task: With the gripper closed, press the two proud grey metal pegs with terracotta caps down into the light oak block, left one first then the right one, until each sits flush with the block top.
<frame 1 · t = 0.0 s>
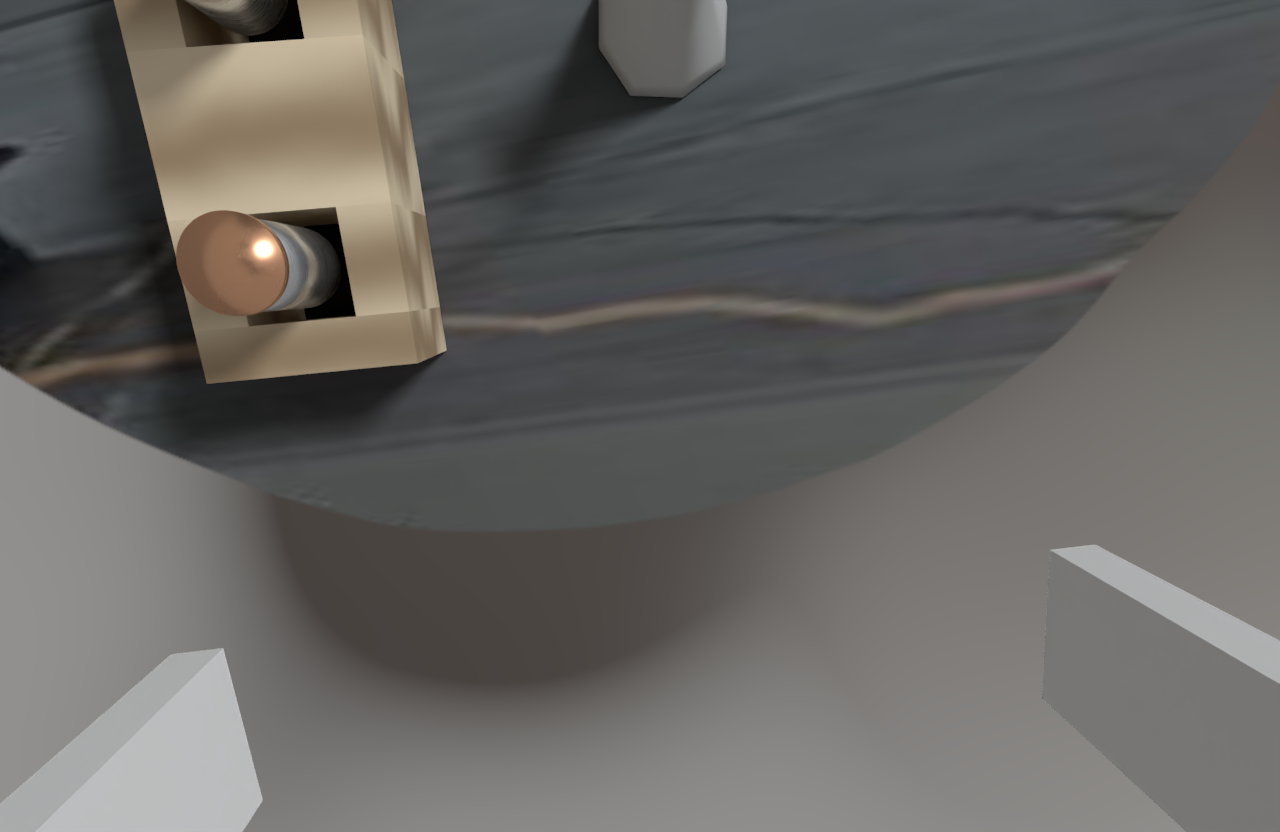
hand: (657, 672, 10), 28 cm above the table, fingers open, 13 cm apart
oak block: (321, 156, 34), on the table
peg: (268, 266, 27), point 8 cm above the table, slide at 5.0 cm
flask: (662, 30, 34), on the table
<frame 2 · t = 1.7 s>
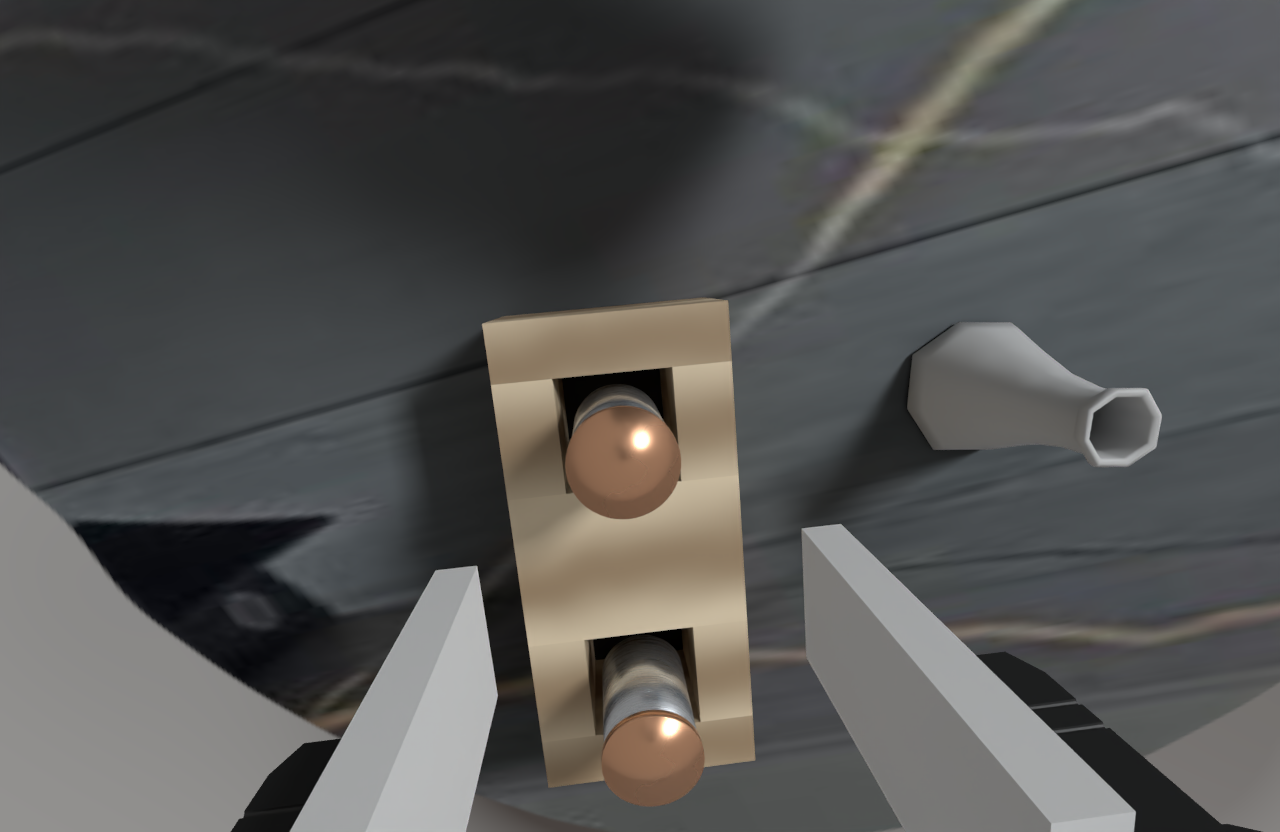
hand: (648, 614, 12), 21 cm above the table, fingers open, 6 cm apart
oak block: (625, 513, 33), on the table
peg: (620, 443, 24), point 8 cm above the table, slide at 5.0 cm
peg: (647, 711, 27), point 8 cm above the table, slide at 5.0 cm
flask: (966, 385, 34), on the table
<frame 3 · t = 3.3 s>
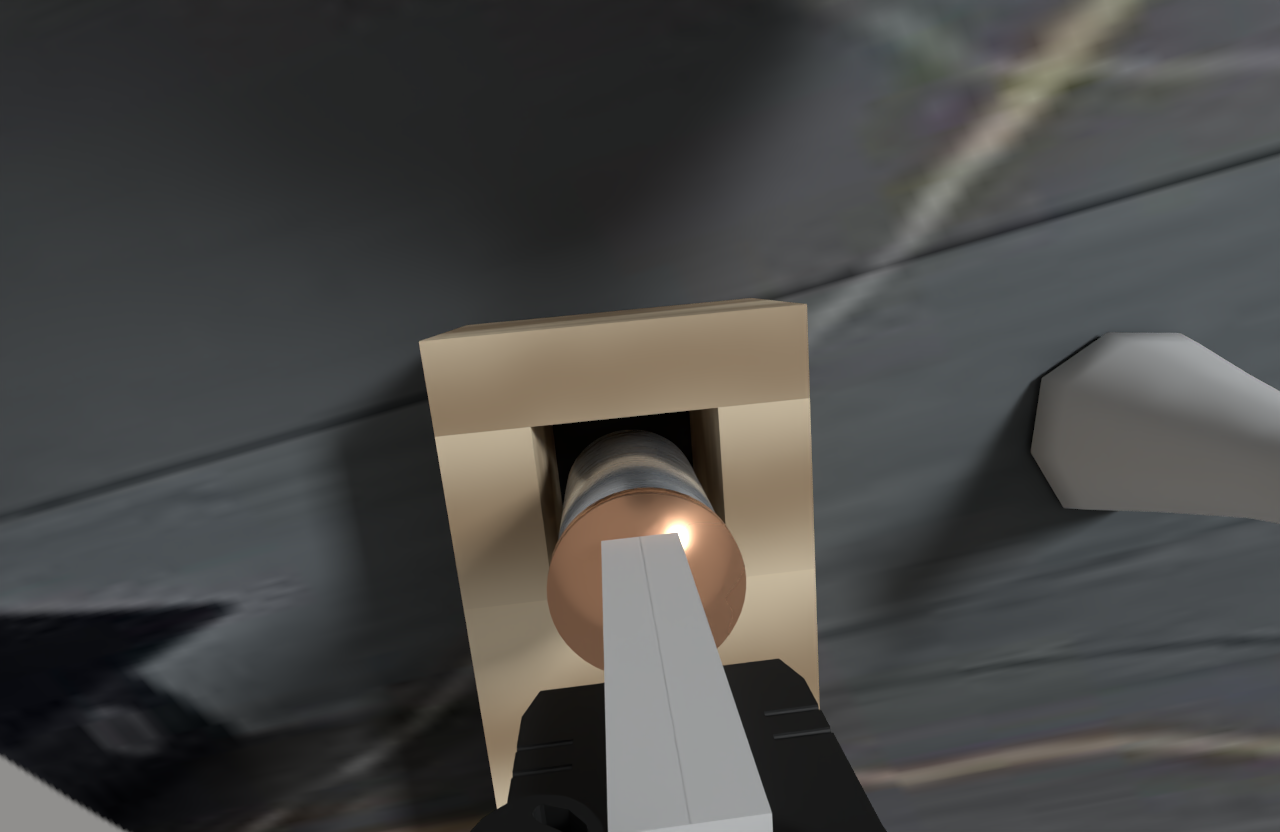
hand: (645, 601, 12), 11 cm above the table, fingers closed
oak block: (638, 596, 24), on the table
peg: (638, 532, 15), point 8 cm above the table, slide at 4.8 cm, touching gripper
flask: (1110, 420, 24), on the table
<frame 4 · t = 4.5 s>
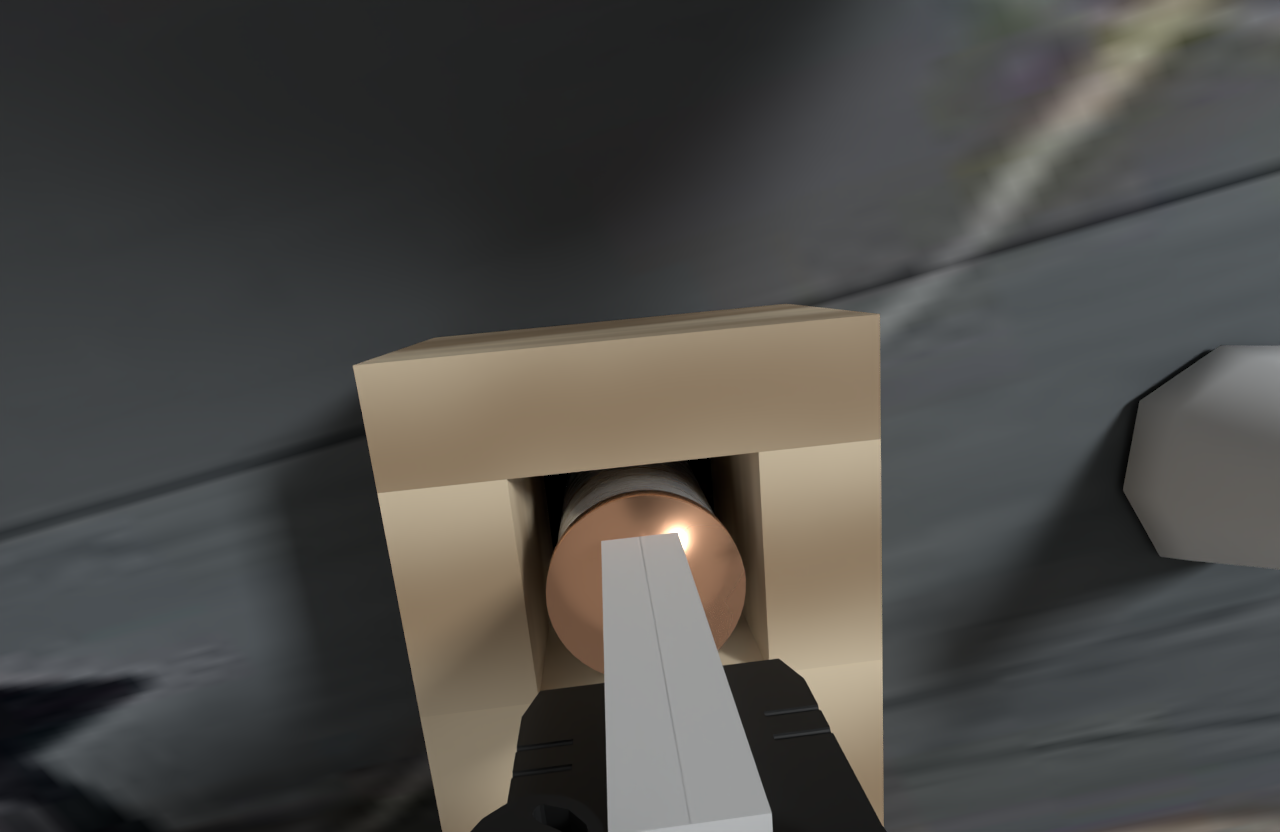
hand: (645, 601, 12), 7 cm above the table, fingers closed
oak block: (647, 664, 20), on the table
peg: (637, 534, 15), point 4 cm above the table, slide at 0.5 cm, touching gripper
flask: (1216, 450, 20), on the table
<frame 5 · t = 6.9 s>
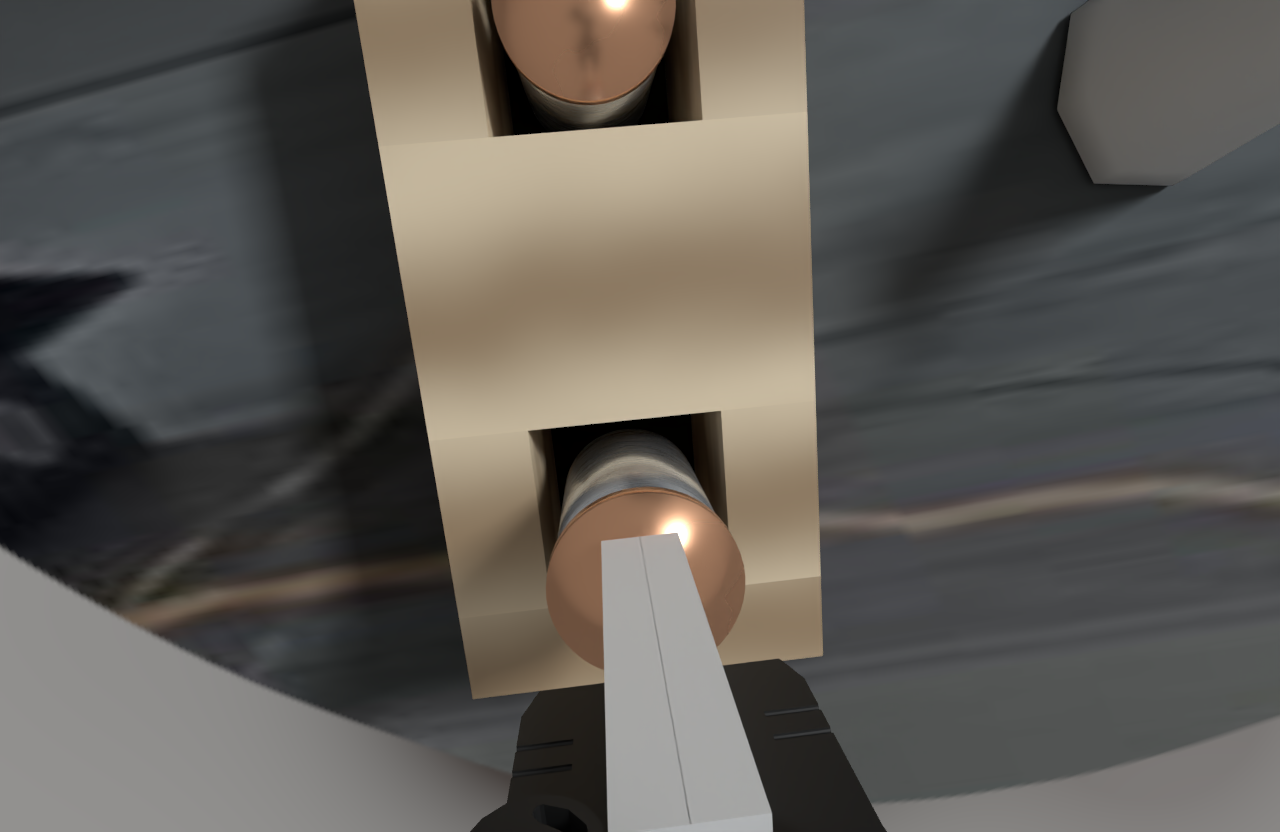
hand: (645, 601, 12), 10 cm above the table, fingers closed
oak block: (607, 281, 21), on the table
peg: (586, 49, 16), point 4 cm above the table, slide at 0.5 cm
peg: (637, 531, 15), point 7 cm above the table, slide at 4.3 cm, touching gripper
flask: (1147, 80, 21), on the table
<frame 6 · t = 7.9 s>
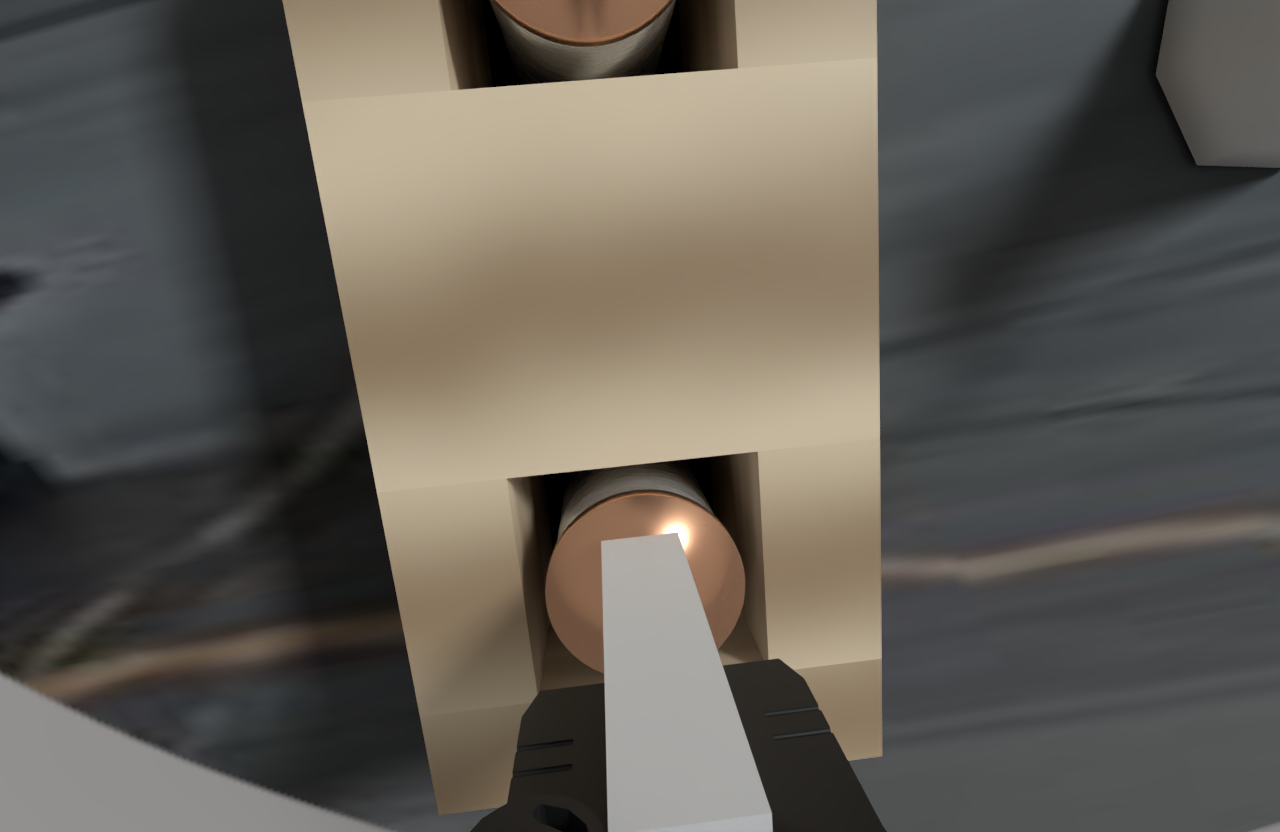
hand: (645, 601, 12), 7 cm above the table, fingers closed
oak block: (609, 284, 17), on the table
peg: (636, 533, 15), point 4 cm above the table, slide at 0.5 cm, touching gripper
flask: (1262, 40, 17), on the table
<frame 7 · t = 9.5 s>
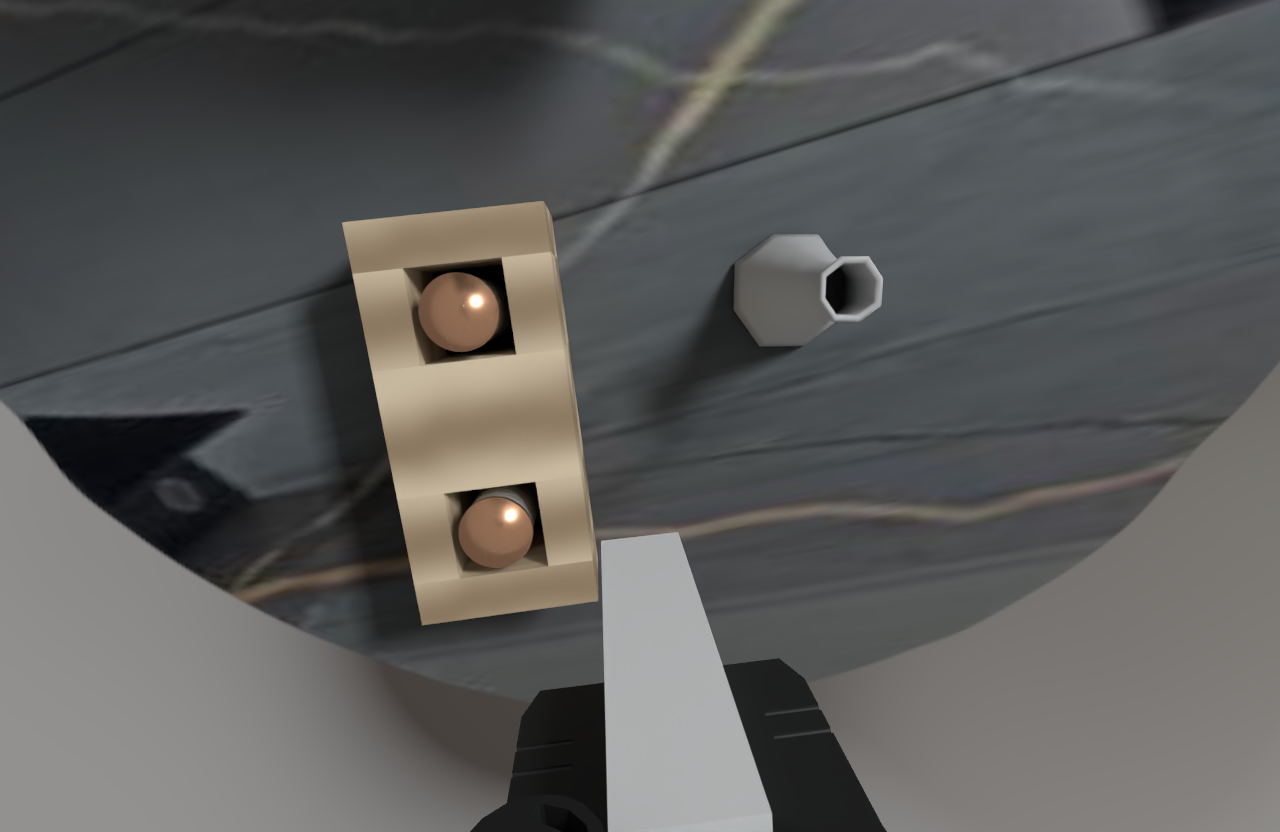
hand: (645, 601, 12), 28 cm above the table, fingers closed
oak block: (496, 406, 39), on the table
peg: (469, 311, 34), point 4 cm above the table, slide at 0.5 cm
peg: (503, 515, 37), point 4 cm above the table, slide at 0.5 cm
flask: (785, 291, 39), on the table
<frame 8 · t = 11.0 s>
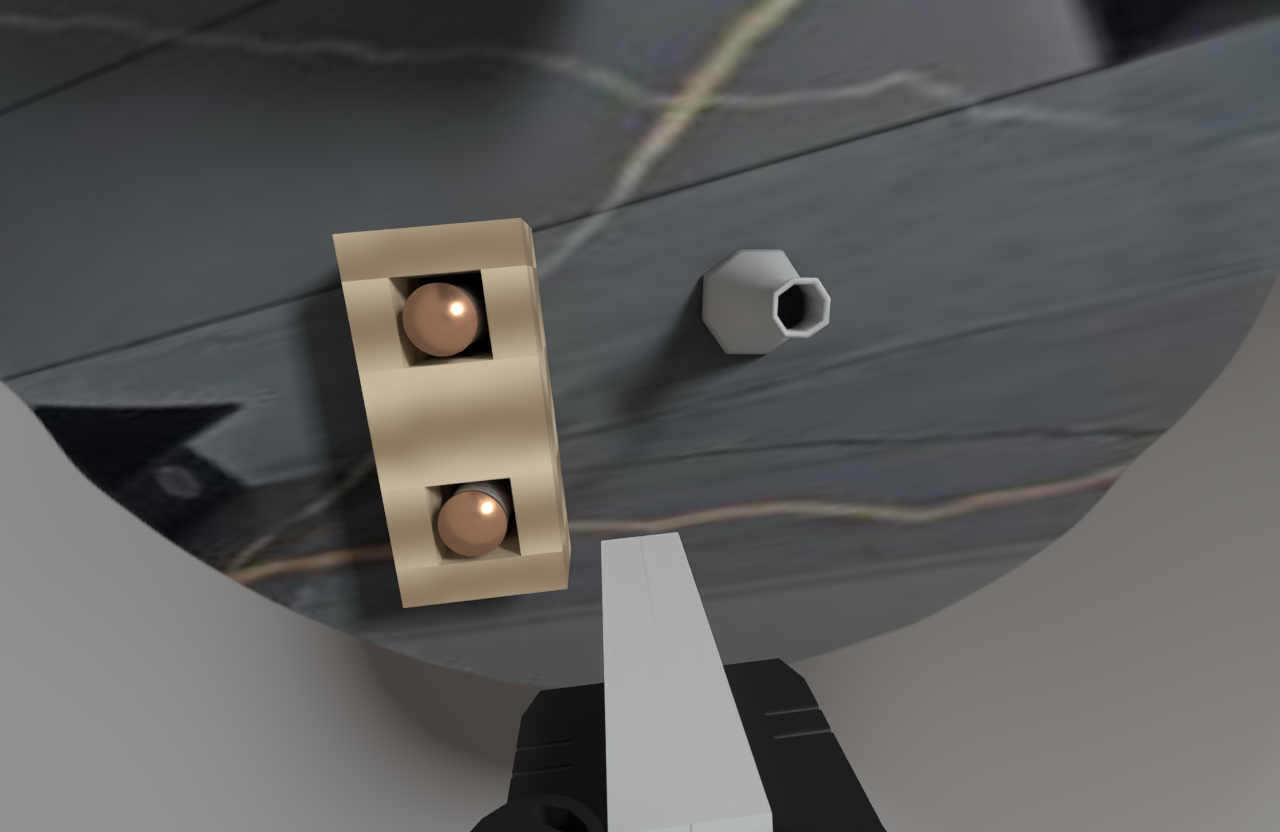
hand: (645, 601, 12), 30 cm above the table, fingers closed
oak block: (477, 404, 42), on the table
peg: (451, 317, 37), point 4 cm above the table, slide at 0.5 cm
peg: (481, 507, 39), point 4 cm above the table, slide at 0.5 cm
flask: (751, 302, 42), on the table
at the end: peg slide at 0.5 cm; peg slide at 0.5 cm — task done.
